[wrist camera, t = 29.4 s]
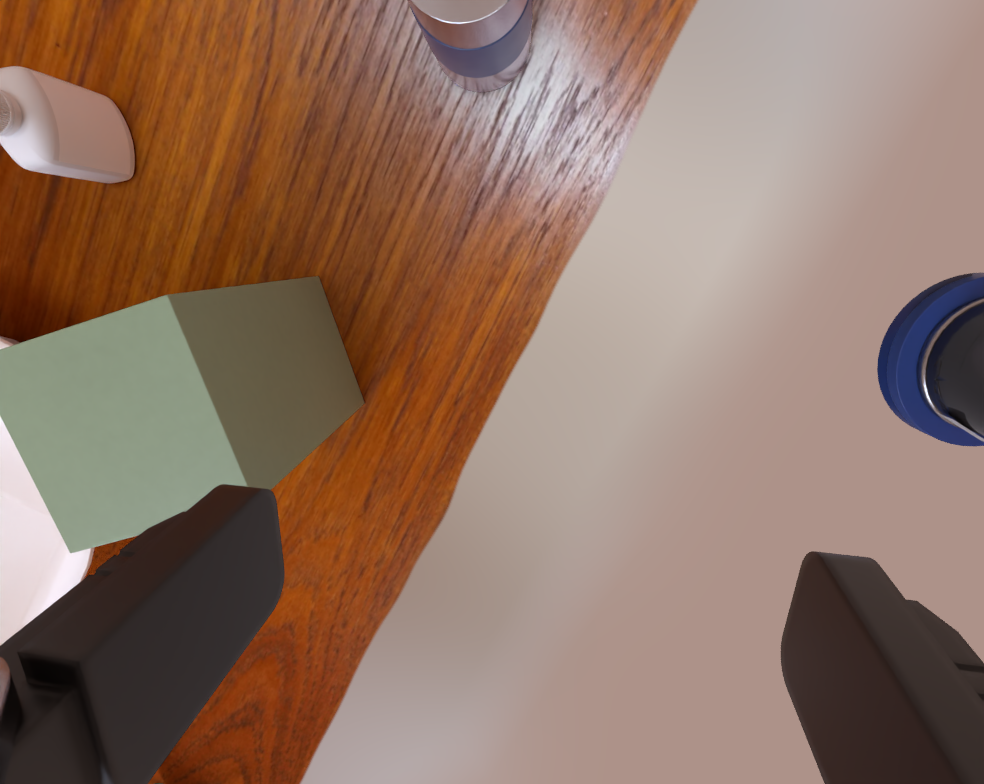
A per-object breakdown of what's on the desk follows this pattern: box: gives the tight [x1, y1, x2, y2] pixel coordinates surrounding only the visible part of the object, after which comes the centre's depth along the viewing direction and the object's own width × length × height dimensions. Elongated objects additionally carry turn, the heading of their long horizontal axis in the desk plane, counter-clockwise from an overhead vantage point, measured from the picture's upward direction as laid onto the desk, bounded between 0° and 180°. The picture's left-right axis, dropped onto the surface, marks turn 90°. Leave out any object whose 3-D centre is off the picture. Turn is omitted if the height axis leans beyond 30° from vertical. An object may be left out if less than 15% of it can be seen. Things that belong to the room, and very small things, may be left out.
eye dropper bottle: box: [0, 66, 135, 184], centre depth 35 cm, size 4×6×12 cm
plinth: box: [0, 276, 365, 553], centre depth 35 cm, size 10×10×18 cm
